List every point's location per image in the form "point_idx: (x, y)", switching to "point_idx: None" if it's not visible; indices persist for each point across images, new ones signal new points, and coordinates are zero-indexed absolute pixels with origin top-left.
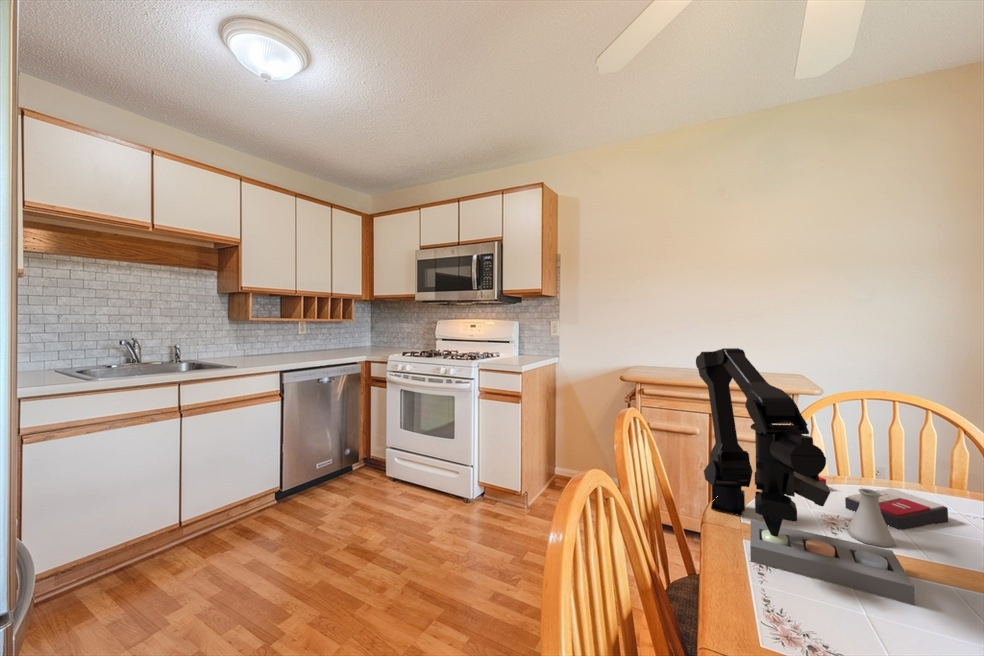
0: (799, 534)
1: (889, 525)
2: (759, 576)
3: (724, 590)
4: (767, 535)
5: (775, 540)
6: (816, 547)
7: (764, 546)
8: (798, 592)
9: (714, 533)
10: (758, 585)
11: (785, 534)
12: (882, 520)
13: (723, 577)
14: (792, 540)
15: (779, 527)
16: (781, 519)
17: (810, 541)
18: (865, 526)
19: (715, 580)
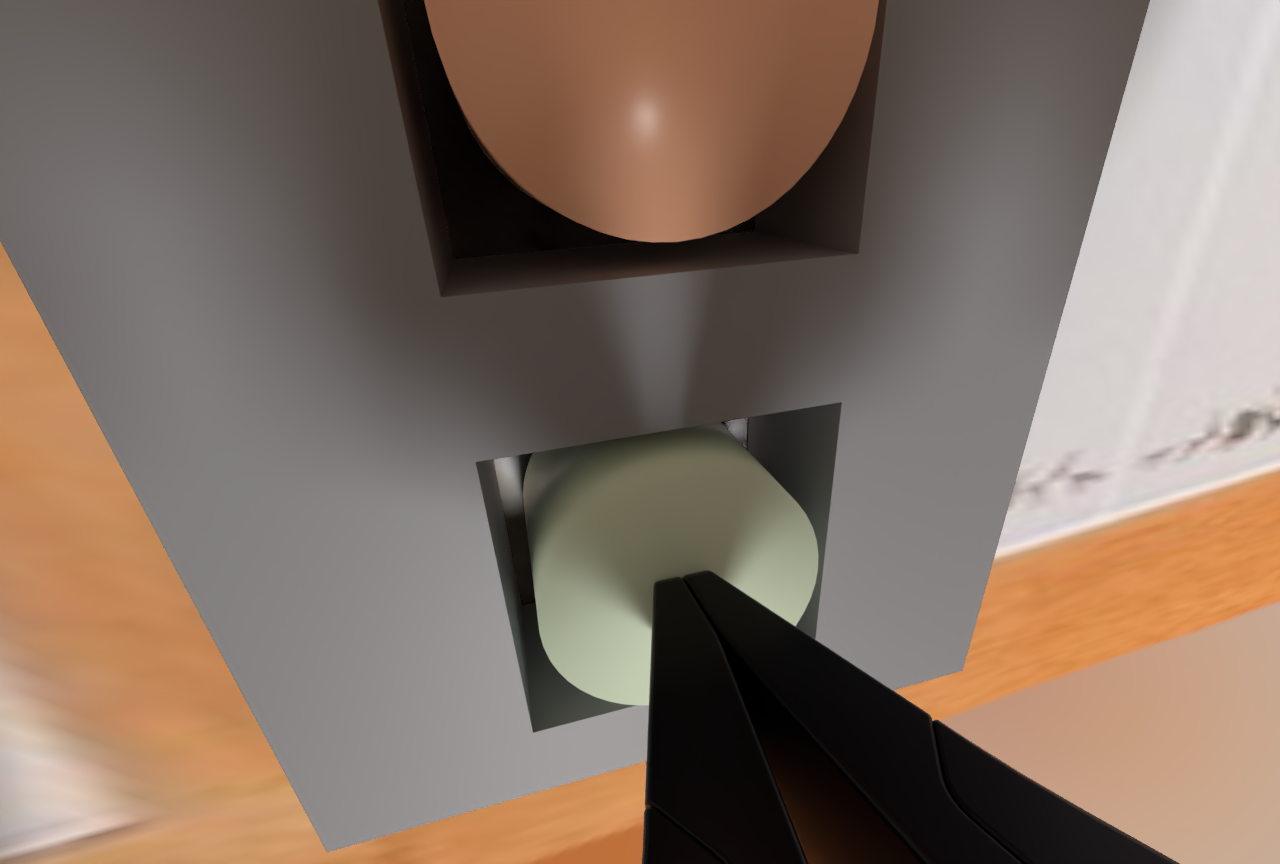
0: (293, 339)
1: None
2: (1032, 497)
3: (1188, 585)
4: None
5: (813, 562)
6: (777, 74)
7: (933, 597)
8: (1153, 275)
9: (587, 823)
10: (1123, 482)
11: (480, 504)
12: None
13: (1088, 621)
14: (627, 409)
15: (839, 661)
16: (1063, 808)
17: (587, 165)
18: None
19: (1120, 635)
